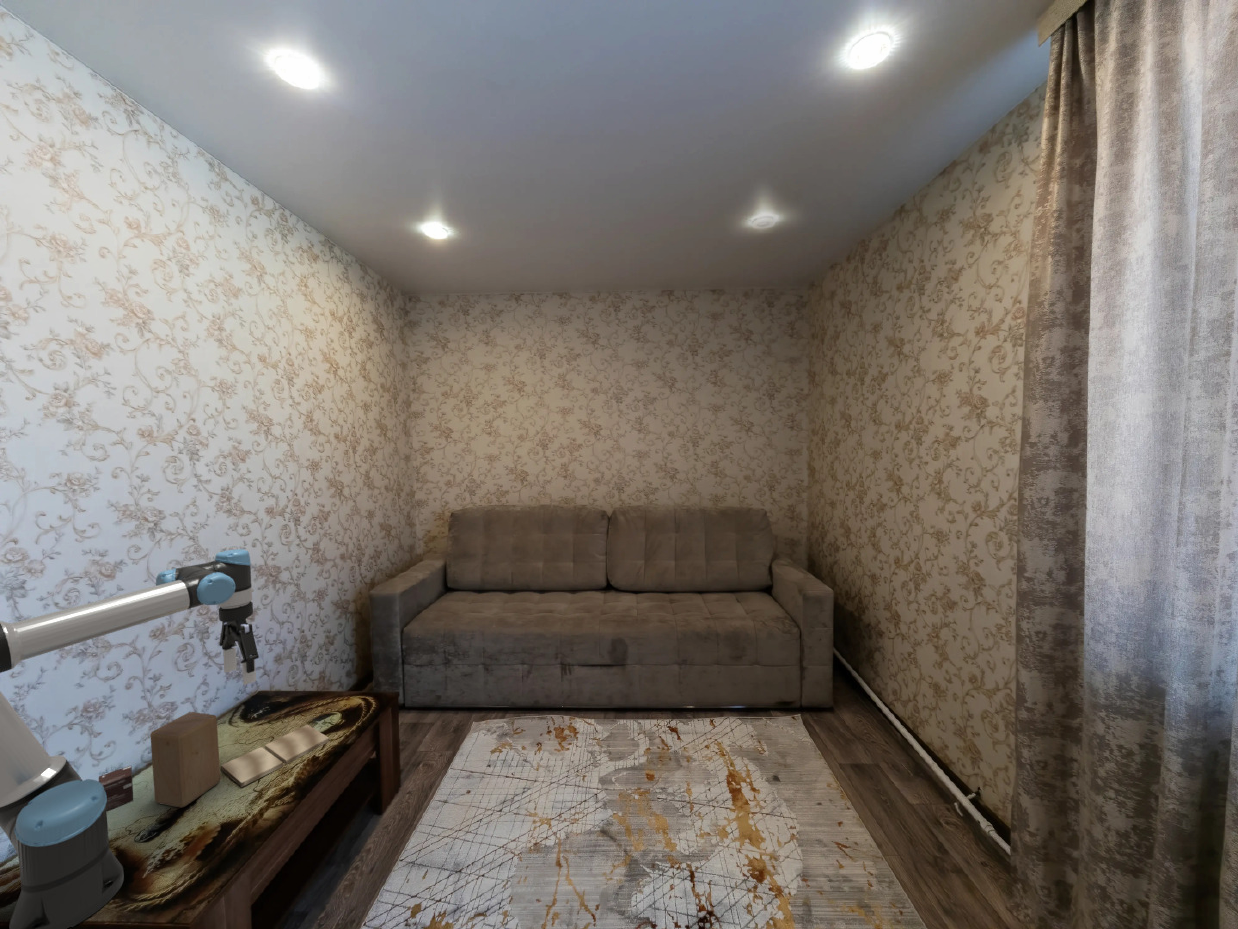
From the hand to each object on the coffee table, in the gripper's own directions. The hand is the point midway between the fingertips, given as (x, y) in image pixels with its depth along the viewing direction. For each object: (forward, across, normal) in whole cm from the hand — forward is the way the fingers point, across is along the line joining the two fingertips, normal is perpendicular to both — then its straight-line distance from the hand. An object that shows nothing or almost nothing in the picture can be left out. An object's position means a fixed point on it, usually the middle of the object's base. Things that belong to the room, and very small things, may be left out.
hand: (240, 676), depth 132 cm
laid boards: (+29, 0, -14) cm, 32 cm away
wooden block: (+29, +4, +12) cm, 31 cm away
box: (+29, +17, +23) cm, 40 cm away
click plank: (+28, 0, -2) cm, 28 cm away
